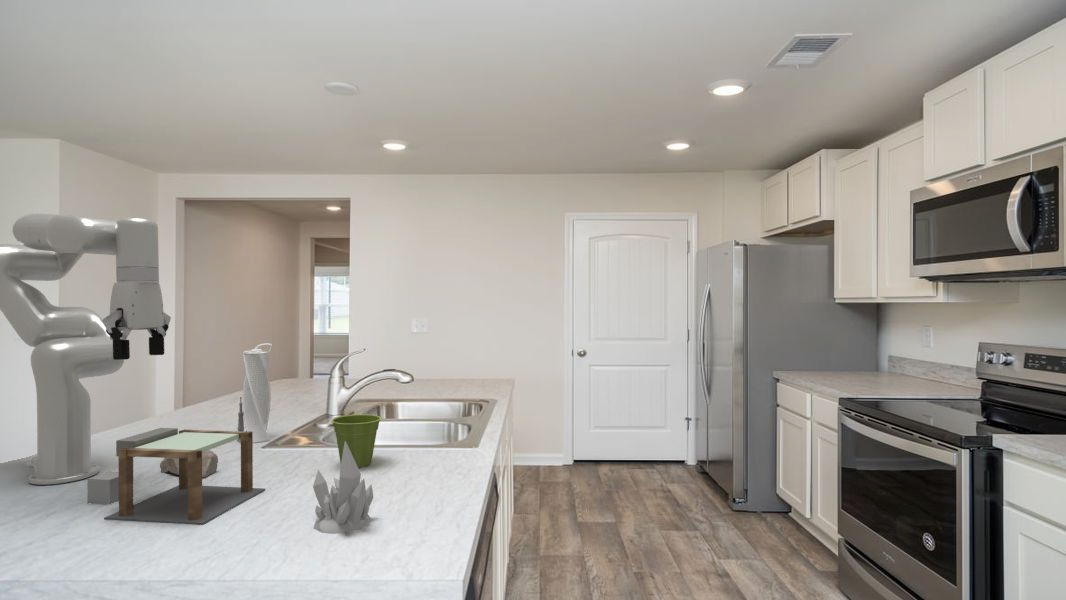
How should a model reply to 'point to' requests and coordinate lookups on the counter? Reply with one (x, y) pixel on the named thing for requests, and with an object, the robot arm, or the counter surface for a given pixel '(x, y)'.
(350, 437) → the plant pot
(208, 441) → the trapdoor
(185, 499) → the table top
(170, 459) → the concrete fragment
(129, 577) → the counter surface
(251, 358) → the skyscraper
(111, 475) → the stone block
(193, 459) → the frame
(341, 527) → the crystal
